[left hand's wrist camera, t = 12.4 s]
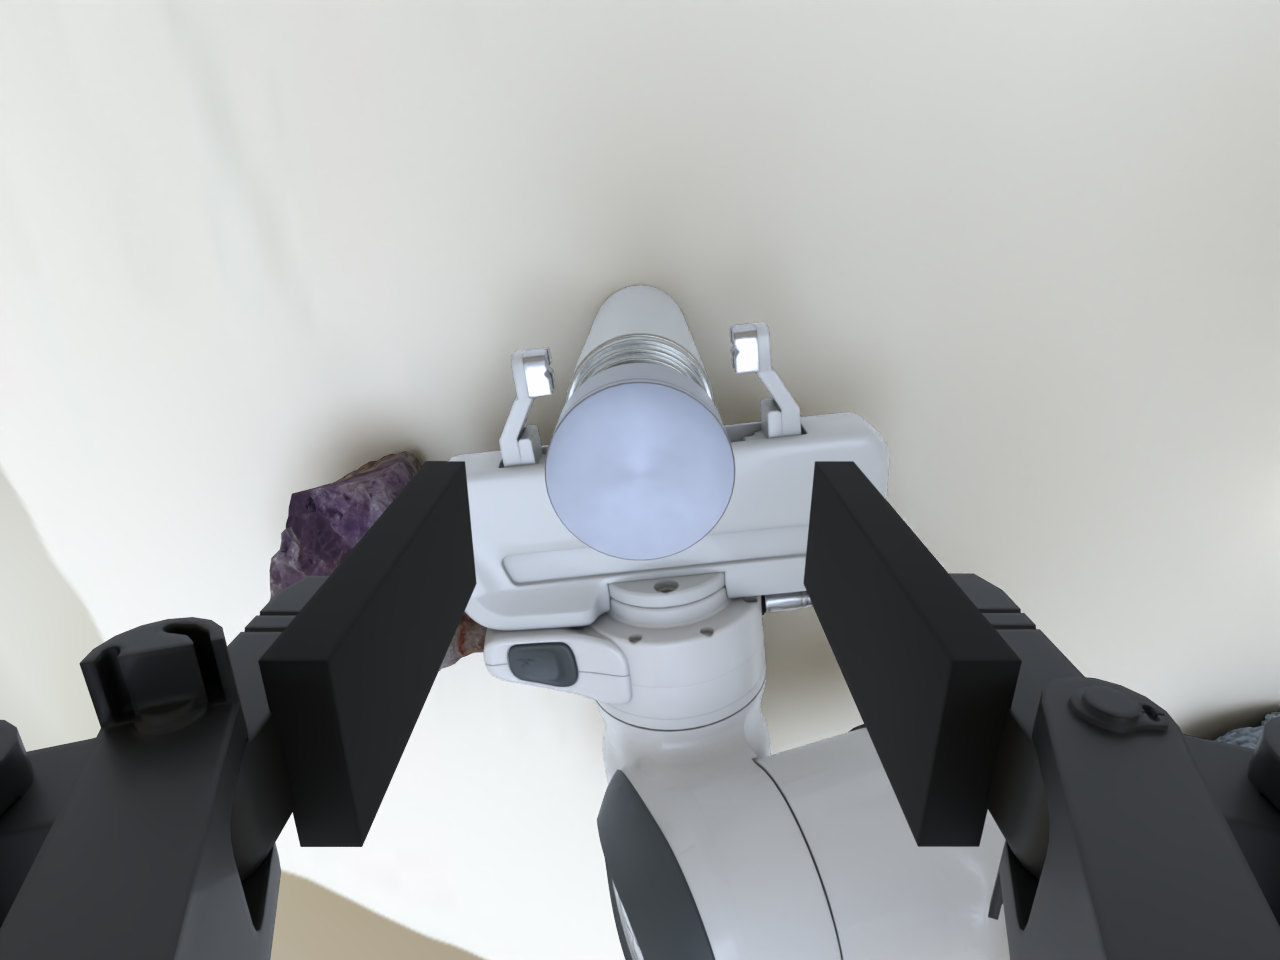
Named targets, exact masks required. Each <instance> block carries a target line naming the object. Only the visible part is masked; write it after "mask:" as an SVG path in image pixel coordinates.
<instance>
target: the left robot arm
mask: <svg viewBox="0 0 1280 960" xmlns="http://www.w3.org/2000/svg"><path fill="white" fill-rule="evenodd" d="M476 584H477V583H476V572H475V562H474V551H473V540H472V530H471V519H470V508H469V498H468V487H467V476H466V466H465V461H426V462H425V464H424V465H423V466H422V467H421V468H420V470H419V471H418V472H417V473H416V474H415V476H414V477H413V478H412V479H411V480H410V481H409V483H408V484H407V485H406V486H405V487H404V489H403V490H402V491H401V492H400V493H399V494H398V496H397V497H396V498H395V499H394V500H393V502H392V503H391V504H390V505H389V506H388V508H387V509H386V510H385V511H384V512H383V513H382V515H381V516H380V517H379V518H378V519H377V521H376V522H375V523H374V524H373V525H372V526H371V528H370V529H369V530H368V531H367V532H366V534H365V535H364V536H363V537H362V538H361V539H360V541H359V542H358V543H357V544H356V545H355V547H354V548H353V549H352V550H351V551H350V553H349V554H348V555H347V556H346V557H345V558H344V560H343V561H342V562H341V563H340V564H339V566H338V567H337V568H336V569H335V570H334V571H333V573H332V574H331V575H330V576H306V577H304V578H302V579H301V580H299V581H297V582H295V583H294V584H292V585H290V586H289V587H287V588H285V589H283V590H282V591H280V592H278V593H277V594H276V595H275V596H274V597H273V599H272V600H271V601H270V602H269V603H268V604H267V605H266V606H265V607H264V608H263V609H262V610H261V611H260V616H256V617H255V618H254V619H253V620H252V621H251V622H250V623H249V624H248V625H247V626H246V627H245V632H240V634H239V635H238V636H237V637H236V638H235V639H234V640H233V641H232V642H231V643H230V644H229V645H228V646H227V645H226V640H225V636H224V632H223V628H222V627H221V626H219V625H218V624H216V623H215V622H213V621H212V620H208V619H201V618H194V617H189V618H176V619H167V620H163V621H158V622H154V623H150V624H146V625H142V626H139V627H137V628H134V629H132V630H129V631H126V632H124V633H121V634H119V635H116V636H114V637H113V638H111V639H109V640H108V641H106V642H104V643H103V644H101V645H99V646H98V647H96V648H95V649H93V650H92V651H91V652H90V653H89V654H88V655H87V656H86V657H85V658H84V659H83V660H82V661H81V662H80V666H81V669H82V672H83V675H84V678H85V681H86V684H87V687H88V690H89V693H90V696H91V699H92V702H93V705H94V708H95V711H96V714H97V717H98V720H99V723H100V726H101V729H100V731H99V733H98V735H97V737H96V738H93V739H88V740H83V741H79V742H73V743H69V744H63V745H59V746H54V747H49V748H44V749H39V750H34V751H29V752H26V750H25V748H24V745H23V743H22V740H21V737H20V735H19V732H18V730H17V728H16V727H15V726H13V725H12V724H10V723H8V722H7V721H5V720H0V960H270V957H271V949H272V940H273V932H274V924H275V916H276V908H277V900H278V892H279V884H280V876H281V868H280V862H279V856H278V852H277V848H276V844H275V842H276V840H277V838H278V836H279V835H280V833H281V831H282V829H283V828H284V826H285V824H286V822H287V821H288V819H289V817H290V815H291V814H292V812H293V815H294V820H295V824H296V828H297V833H298V837H299V841H300V846H301V847H362V846H363V843H364V841H365V839H366V837H367V834H368V832H369V830H370V827H371V825H372V823H373V820H374V818H375V816H376V814H377V811H378V809H379V807H380V804H381V802H382V800H383V797H384V795H385V793H386V791H387V788H388V786H389V784H390V781H391V779H392V777H393V775H394V772H395V770H396V768H397V765H398V763H399V761H400V758H401V756H402V754H403V752H404V749H405V747H406V745H407V742H408V740H409V738H410V735H411V733H412V731H413V729H414V726H415V724H416V722H417V719H418V717H419V715H420V712H421V710H422V708H423V706H424V703H425V701H426V699H427V696H428V694H429V692H430V690H431V687H432V685H433V683H434V680H435V678H436V676H437V673H438V671H439V669H440V667H441V664H442V662H443V660H444V657H445V655H446V653H447V650H448V648H449V646H450V644H451V641H452V639H453V637H454V634H455V632H456V630H457V628H458V625H459V623H460V621H461V618H462V616H463V614H464V611H465V609H466V607H467V605H468V602H469V600H470V598H471V595H472V593H473V591H474V588H475V586H476ZM803 584H804V586H805V588H806V591H807V593H808V595H809V598H810V600H811V602H812V605H813V607H814V609H815V611H816V614H817V616H818V618H819V621H820V623H821V625H822V628H823V630H824V632H825V634H826V637H827V639H828V641H829V644H830V646H831V648H832V650H833V653H834V655H835V657H836V660H837V662H838V664H839V667H840V669H841V671H842V673H843V676H844V678H845V680H846V683H847V685H848V687H849V690H850V692H851V694H852V696H853V699H854V701H855V703H856V706H857V708H858V710H859V712H860V715H861V717H862V719H863V722H864V724H865V726H866V729H867V731H868V733H869V735H870V738H871V740H872V742H873V745H874V747H875V749H876V752H877V754H878V756H879V758H880V761H881V763H882V765H883V768H884V770H885V772H886V775H887V777H888V779H889V781H890V784H891V786H892V788H893V791H894V793H895V795H896V797H897V800H898V802H899V804H900V807H901V809H902V811H903V814H904V816H905V818H906V820H907V823H908V825H909V827H910V830H911V832H912V834H913V837H914V839H915V841H916V843H917V846H918V847H979V846H980V841H981V837H982V833H983V828H984V824H985V820H986V815H987V811H988V810H989V812H990V814H991V815H992V817H993V819H994V820H995V822H996V824H997V826H998V827H999V829H1000V831H1001V833H1002V834H1003V836H1004V838H1005V839H1006V840H1005V844H1004V848H1003V852H1002V856H1001V860H1000V864H999V868H998V872H997V876H996V880H995V884H994V888H993V892H992V897H991V901H990V906H989V912H988V917H989V918H992V919H996V920H998V918H999V914H1000V910H1001V906H1002V904H1003V906H1004V914H1005V922H1006V930H1007V938H1008V947H1009V955H1010V960H1280V717H1276V718H1274V719H1272V720H1271V721H1269V722H1267V723H1266V724H1265V725H1264V727H1263V730H1262V732H1261V735H1260V737H1259V740H1258V743H1257V745H1256V748H1255V749H1253V748H1248V747H1243V746H1238V745H1233V744H1228V743H1223V742H1218V741H1213V740H1208V739H1203V738H1198V737H1193V736H1188V735H1185V734H1182V732H1181V730H1180V728H1179V726H1178V725H1177V724H1176V723H1175V722H1174V720H1173V719H1172V718H1171V717H1170V715H1169V714H1168V713H1167V712H1166V711H1165V710H1164V709H1162V708H1161V707H1159V706H1158V705H1157V704H1155V703H1154V702H1152V701H1151V700H1150V699H1148V698H1147V697H1145V696H1143V695H1141V694H1139V693H1136V692H1134V691H1132V690H1130V689H1128V688H1125V687H1123V686H1121V685H1118V684H1114V683H1110V682H1107V681H1103V680H1100V679H1096V678H1086V677H1084V676H1083V675H1082V674H1081V672H1080V671H1079V670H1078V669H1077V668H1076V667H1075V666H1074V665H1073V664H1072V663H1071V662H1070V661H1069V660H1068V659H1067V658H1066V657H1065V656H1064V655H1063V654H1062V652H1061V651H1060V650H1059V649H1058V648H1057V647H1056V646H1055V645H1054V644H1053V643H1052V642H1051V641H1050V640H1049V639H1048V638H1047V637H1046V636H1045V635H1044V633H1043V632H1042V631H1041V630H1040V629H1036V625H1035V624H1034V623H1033V622H1032V621H1031V620H1030V619H1029V618H1028V617H1027V616H1026V615H1025V613H1021V611H1020V610H1021V609H1020V608H1019V607H1018V606H1017V605H1016V604H1015V603H1014V602H1013V601H1012V600H1011V599H1010V598H1009V597H1008V596H1007V595H1006V593H1005V592H1004V591H1003V590H1001V589H1000V588H998V587H996V586H994V585H993V584H991V583H989V582H987V581H986V580H984V579H982V578H980V577H979V576H977V575H975V574H948V573H947V571H946V570H945V569H944V568H943V567H942V566H941V564H940V563H939V562H938V561H937V560H936V558H935V557H934V556H933V555H932V554H931V553H930V551H929V550H928V549H927V548H926V547H925V545H924V544H923V543H922V542H921V541H920V539H919V538H918V537H917V536H916V535H915V534H914V532H913V531H912V530H911V529H910V528H909V526H908V525H907V524H906V523H905V522H904V521H903V519H902V518H901V517H900V516H899V515H898V513H897V512H896V511H895V510H894V509H893V508H892V506H891V505H890V504H889V503H888V502H887V500H886V499H885V498H884V497H883V496H882V494H881V493H880V492H879V491H878V490H877V489H876V487H875V486H874V485H873V484H872V483H871V481H870V480H869V479H868V478H867V477H866V476H865V474H864V473H863V472H862V471H861V470H860V468H859V467H858V466H857V465H856V464H855V462H854V461H815V466H814V476H813V487H812V498H811V508H810V519H809V530H808V540H807V551H806V562H805V572H804V583H803Z"/></svg>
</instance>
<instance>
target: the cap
mask: <svg viewBox="0 0 1280 960" xmlns="http://www.w3.org/2000/svg"><path fill="white" fill-rule="evenodd" d="M545 483H546V488H547V493H548V496H549V499H550V502H551V504H552V507H553V509H554V511H555V513H556V514H557V516H558V517H559V519H560V520H561V522H562V523H563V524H564V526H565V527H566V528H567V529H568V530H569V531H570V532H571V533H572V534H573V535H574V536H575V537H576V538H577V539H579V540H580V541H581V542H583V543H584V544H586V545H587V546H589V547H591V548H592V549H594V550H596V551H598V552H601V553H603V554H606V555H609V556H612V557H616V558H620V559H626V560H654V559H660V558H664V557H668V556H671V555H674V554H677V553H680V552H682V551H684V550H686V549H688V548H690V547H691V546H693V545H694V544H696V543H697V542H699V541H700V540H701V539H703V538H704V537H705V536H706V535H707V534H708V533H709V532H710V531H711V530H712V529H713V528H714V527H715V526H716V524H717V523H718V522H719V520H720V519H721V517H722V516H723V514H724V512H725V510H726V508H727V507H728V505H729V502H730V499H731V496H732V493H733V488H734V483H735V458H734V454H733V449H732V446H731V443H730V440H729V438H728V435H727V433H726V430H725V427H724V425H723V422H722V420H721V417H720V414H719V412H718V410H717V408H716V406H715V404H714V403H713V401H712V400H711V398H710V397H709V396H708V394H707V393H706V392H705V391H704V390H703V389H702V388H701V387H700V386H699V385H698V384H697V383H696V382H694V381H693V380H692V379H691V378H689V377H687V376H686V375H684V374H682V373H681V372H679V371H676V370H674V369H671V368H669V367H665V366H661V365H658V364H650V363H630V364H622V365H619V366H615V367H611V368H609V369H606V370H604V371H601V372H599V373H598V374H596V375H594V376H593V377H591V378H590V379H588V380H587V381H586V382H584V383H583V384H582V385H581V386H580V387H579V388H578V389H577V390H576V391H575V392H574V393H573V394H572V396H571V397H570V398H569V400H568V401H567V403H566V404H565V406H564V408H563V410H562V412H561V414H560V417H559V420H558V422H557V425H556V427H555V430H554V432H553V435H552V438H551V440H550V443H549V445H548V449H547V454H546V458H545Z"/></svg>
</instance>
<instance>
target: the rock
mask: <svg viewBox="0 0 1280 960" xmlns="http://www.w3.org/2000/svg"><path fill="white" fill-rule="evenodd" d="M420 468H421V465H420V462H419V460H418V459H417V458H416V457H415V456H414V455H413V454H411V453H408V452H403V453H400V454H390V455H388V456H385V457H383V458H381V459H380V460H378V461H372V462H369V463H367V464H365V465H363V466H362V467H360V468H359V469H358V470H357V471H353V472H351V473H349V474H347V475H346V476H345V477H343V478H342V479H340V480H338V481H336V482H334V483H332V484H327V485H323V486H320V487H317V488H313V489H309V490H305V491H301V492H297V493H293V494H292V496H291V501H290V505H289V516H288V519H287V523H286V529H285V530H284V531H283V532H282V533H281V539H282V541H281V546H280V550H279V551H278V552H277V553H276V554H275V555H274V556H273V557H272V558H271V566H270V590H271V599H270V601H271V600H272V599H273V597H274V596H275V595H276V594H277V593H278V592H280V591H282V590H283V589H285V588H287V587H289V586H290V585H292V584H294V583H295V582H297V581H299V580H301V579H302V578H304V577H306V576H330V575H331V574H332V573H333V571H334V570H335V569H336V568H337V567H338V566H339V564H340V563H341V562H342V561H343V560H344V558H345V557H346V556H347V555H348V554H349V553H350V551H351V550H352V549H353V548H354V547H355V545H356V544H357V543H358V542H359V541H360V539H361V538H362V537H363V536H364V535H365V534H366V532H367V531H368V530H369V529H370V528H371V526H372V525H373V524H374V523H375V522H376V521H377V519H378V518H379V517H380V516H381V515H382V513H383V512H384V511H385V510H386V509H387V508H388V506H389V505H390V504H391V503H392V502H393V500H394V499H395V498H396V497H397V496H398V494H399V493H400V492H401V491H402V490H403V489H404V487H405V486H406V485H407V484H408V483H409V481H410V480H411V479H412V478H413V477H414V476H415V474H416V473H417V472H418V471H419V470H420ZM270 601H269V602H270ZM486 632H487V627H485V626H483V625H481V624H479V623H477V622H476V621H474V620H473V619H472V618H471V617H469V616H468V614H467V613H466V612H465V611H464V614H463V616H462V618H461V621H460V623H459V625H458V628H457V630H456V632H455V634H454V637H453V639H452V641H451V644H450V646H449V648H448V650H447V653H446V655H445V657H444V660H443V662H442V664H441V667H440V669H439V671H440V670H441V669H442V668H445V667H448V666H451V665H453V664H455V663H456V662H457V661H458V660H459V659H460V658H462V657H465V656H467V655H469V654H472V653H475V652H484V643H485V636H486ZM439 671H438V672H439Z"/></svg>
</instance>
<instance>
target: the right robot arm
mask: <svg viewBox="0 0 1280 960" xmlns="http://www.w3.org/2000/svg"><path fill="white" fill-rule="evenodd" d="M729 334H730V341H731V342H732V344H733V347H732V349H731V362H732V366H733V368H735V372H736V373H748V372H756V373H757V375H758V376H759V378H760V379H761V381H762V382H763V384H764V385H765V387H766V388H767V389H768V391H769V392H770V394H771V395H772V397H773V400H772V399H770V398H768V399H762V400H761V401H760V415H761V421H760V422H751V423H742V424H733V425H724V427H725V430H726V433H727V435H728V438H729V440H730V443H731V446H732V449H733V454H734V458H735V483H734V488H733V493H732V496H731V499H730V502H729V505H728V507H727V508H726V510H725V512H724V514H723V516H722V517H721V519H720V520H719V522H718V523H717V524H716V526H715V527H714V528H713V529H712V530H711V531H710V532H709V533H708V534H707V535H706V536H705V537H704V538H703V539H701V540H700V541H699V542H697V543H696V544H694V545H693V546H691V547H690V548H688V549H686V550H684V551H682V552H680V553H677V554H674V555H671V556H668V557H664V558H660V559H654V560H626V559H620V558H616V557H612V556H609V555H606V554H603V553H601V552H598V551H596V550H594V549H592V548H591V547H589V546H587V545H586V544H584V543H583V542H581V541H580V540H579V539H577V538H576V537H575V536H574V535H573V534H572V533H571V532H570V531H569V530H568V529H567V528H566V527H565V526H564V524H563V523H562V522H561V520H560V519H559V517H558V516H557V514H556V513H555V511H554V509H553V507H552V504H551V502H550V499H549V496H548V493H547V488H546V483H545V458H546V454H547V449H548V445H544V446H541V442H540V437H539V431H538V427H537V426H536V425H527V427H526V428H525V422H526V420H527V417H528V414H529V412H530V409H531V407H532V404H533V401H534V399H535V397H538V396H546V395H551V394H552V392H553V389H554V388H555V386H556V382H555V376H554V370H553V369H552V368H551V367H550V364H551V362H552V357H551V352H550V349H549V347H547V348H537V349H526V350H519V351H515V352H514V353H513V355H512V357H511V364H512V372H513V377H514V382H515V388H516V393H517V397H516V398H515V400H514V403H513V405H512V408H511V411H510V413H509V416H508V419H507V421H506V424H505V427H504V429H503V432H502V434H501V437H500V440H499V444H500V449H501V450H499V451H490V452H481V453H472V454H462V455H457V456H454V457H452V458H451V459H450V460H449V461H465V466H466V476H467V487H468V498H469V508H470V519H471V530H472V540H473V551H474V562H475V572H476V583H477V584H476V586H475V588H474V591H473V593H472V595H471V598H470V600H469V602H468V605H467V607H466V609H465V612H466V613H467V614H468V616H469V617H471V618H472V619H473V620H474V621H476V622H477V623H479V624H481V625H483V626H485V627H487V632H486V636H485V643H484V660H485V664H486V667H487V670H488V671H489V673H490V674H491V675H492V676H494V677H495V678H497V679H500V680H504V681H508V682H513V683H520V684H526V685H532V686H538V687H543V688H549V689H554V690H559V691H563V692H568V693H572V694H576V695H580V696H584V697H587V698H591V699H594V701H595V703H596V705H597V707H598V709H599V711H600V713H601V715H602V716H603V718H604V720H605V724H606V727H605V733H604V738H603V758H604V764H605V770H606V776H607V781H608V787H607V790H606V792H605V795H604V799H603V802H602V805H601V808H600V811H599V815H598V818H597V825H598V831H599V837H600V841H601V845H602V849H603V853H604V856H605V862H606V869H607V877H608V884H609V891H610V897H611V903H612V908H613V913H614V918H615V923H616V927H617V931H618V935H619V939H620V943H621V946H622V950H623V953H624V956H625V959H626V960H1010V955H1009V947H1008V938H1007V930H1006V922H1005V914H1004V906H1003V904H1002V906H1001V910H1000V914H999V918H998V920H996V919H992V918H989V917H988V912H989V906H990V901H991V897H992V892H993V888H994V884H995V880H996V876H997V872H998V868H999V864H1000V860H1001V856H1002V852H1003V848H1004V844H1005V840H1006V839H1005V838H1004V836H1003V834H1002V833H1001V831H1000V829H999V827H998V826H997V824H996V822H995V820H994V819H993V817H992V815H991V814H990V812H989V810H988V811H987V815H986V820H985V824H984V828H983V833H982V837H981V841H980V846H979V847H918V846H917V843H916V841H915V839H914V837H913V834H912V832H911V830H910V827H909V825H908V823H907V820H906V818H905V816H904V814H903V811H902V809H901V807H900V804H899V802H898V800H897V797H896V795H895V793H894V791H893V788H892V786H891V784H890V781H889V779H888V777H887V775H886V772H885V770H884V768H883V765H882V763H881V761H880V758H879V756H878V754H877V752H876V749H875V747H874V745H873V742H872V740H871V738H870V735H869V733H868V731H867V729H866V726H865V724H862V725H860V726H857V727H855V728H853V729H852V730H850V731H849V732H847V733H844V734H841V735H837V736H834V737H831V738H827V739H824V740H821V741H817V742H814V743H811V744H807V745H804V746H801V747H797V748H794V749H791V750H787V751H784V752H781V753H777V754H774V755H771V743H770V736H769V730H768V726H767V724H766V721H765V718H764V716H763V714H762V712H761V708H760V702H761V699H762V696H763V692H764V688H765V682H766V664H765V647H764V632H763V619H762V615H764V613H769V612H779V611H789V610H796V609H801V608H806V607H811V606H813V605H812V602H811V600H810V598H809V595H808V593H807V591H806V588H805V586H804V584H803V583H804V572H805V562H806V551H807V540H808V530H809V519H810V508H811V498H812V487H813V476H814V466H815V461H854V462H855V464H856V465H857V466H858V467H859V468H860V470H861V471H862V472H863V473H864V474H865V476H866V477H867V478H868V479H869V480H870V481H871V483H872V484H873V485H874V486H875V487H876V489H877V490H878V491H879V492H880V493H881V494H882V496H883V497H884V498H885V499H886V493H887V484H888V472H889V450H888V446H887V444H886V442H885V441H884V439H883V438H882V436H881V435H880V434H879V433H878V432H877V431H876V430H875V429H874V428H873V427H872V426H871V425H870V424H869V423H868V422H866V421H865V420H864V419H862V418H861V417H860V416H859V415H857V414H855V413H852V412H841V413H832V414H823V415H814V416H805V417H800V407H799V405H798V404H797V402H796V401H795V400H794V398H793V397H792V395H791V394H790V392H789V391H788V389H787V388H786V386H785V385H784V383H783V382H782V380H781V379H780V377H779V376H778V374H777V373H776V371H775V370H774V369H773V368H772V366H771V351H770V334H769V329H768V325H766V324H765V323H764V322H758V323H749V324H741V325H734V326H730V328H729Z"/></svg>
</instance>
